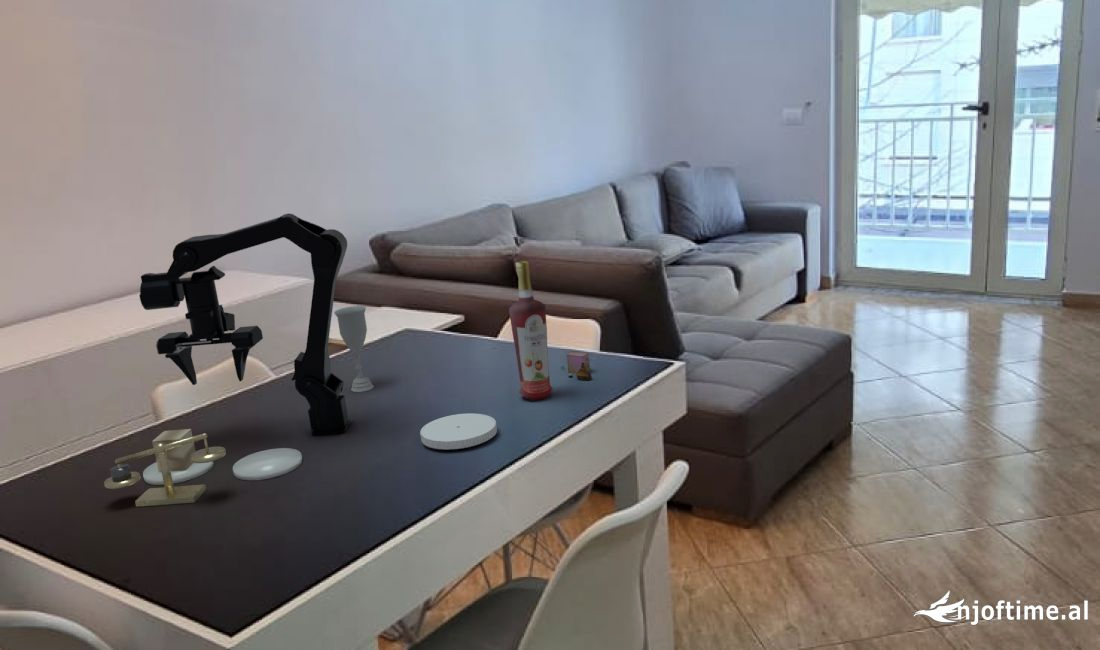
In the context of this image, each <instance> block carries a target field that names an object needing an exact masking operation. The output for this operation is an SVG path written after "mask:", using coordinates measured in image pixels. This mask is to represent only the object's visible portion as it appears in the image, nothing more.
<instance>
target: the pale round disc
mask: <svg viewBox="0 0 1100 650" xmlns="http://www.w3.org/2000/svg"><path fill="white" fill-rule="evenodd" d="M214 465H215V463H214V461H211V462H207V463H193V464H192V465H191V466H190V467H189V468H188V469H187V470H184V471H171V476H172V480H173V485H174V484H180V483H184V482H187V481H191V480H193V479H196V478H198V477H200V476H203V475H204V474H206V473H209V472H210V470H212V468H213V467H214ZM142 475H143V480H144V482H145V483H147V484H149V485H155V486H164V482H163V477H162V472H159V470H158V466H157V461H155V462H154V463H152V464H150V465H148V466H147V467H145V469H144V470H143V471H142Z"/></svg>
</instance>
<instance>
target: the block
mask: <svg viewBox="0 0 1100 650" xmlns="http://www.w3.org/2000/svg"><path fill="white" fill-rule="evenodd" d="M193 436H194V435H193V432H192V429H191V428H187V429H186V428H185V429H173V430H163V432H161V433H160V434H159V435H158V436H157V437H156V438H154V439H153V440H151V441H152V447H153V448H155V446H156V445H157V444H158V443H164V444H169V443H173V442H176V441H180V440H183V439H186V438H190V437H193ZM195 446H196V445H195V442H192V443H189V444H185V445H182V446H178V447H175V448H171V449H168V450H167V457H168V462H169V466H170V471H184V470H187V469H188V468H189V467H190V466H191V465H192V464H193V462H191V458H190V456H191V455H192V454H193V453H194V452H196V451H197V450H196V447H195ZM154 455H155V462H157V466H158V470H159V472H161V468H160V463H159V459H158V454H157V453H154Z"/></svg>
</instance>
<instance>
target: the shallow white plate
mask: <svg viewBox="0 0 1100 650" xmlns="http://www.w3.org/2000/svg"><path fill="white" fill-rule="evenodd" d="M302 463H303V456H302V453H301V452H300V450H297V449H295V448H288V447H281V448H271V449H270V448H269V449H266V450H264V449H263V450H261V451H257V452H254V453H250V454H248V455H246V456H244V457H242V458H240V459H239V460H237V461H236V462H235V463H234V464H233V466H232V472H233V476H234V477H235V478H236V479H239V480H241V481H250V482H251V481H261V480H262V481H263V480H264V481H265V480H269V479H273V478H276V477H280V476H281V477H282V476H283V475H286V474H289V473H290V472H292V471H294V470H295V469H297V468H299V466H301V465H302Z"/></svg>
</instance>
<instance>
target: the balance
mask: <svg viewBox="0 0 1100 650" xmlns="http://www.w3.org/2000/svg"><path fill="white" fill-rule="evenodd" d="M192 436H193V437H190V438H186V439H183V440H180V441H176V442H173V443H169V444H164V443H158V444H157V445H156V446H155V448H154V447H153V448H149V449H146V450H143V451H139V452H136V453H133V454H129V455H125V456H123V457H122V456H121V457H118V458H116V459H115V461H114V463H115V464H116V465H115V466H112V467H110V469H109V472H110V475H111V476H110V477H108V478H106V479H105V481H104V482H103V484H104V488H106V489H109V490H117V489H122V488H126V487H129V486H132V485H134V484H136V483H137V482H139V481H140V480H141V478H142V477H141V474H140V473H139V472H138V471H131V466H130V464H128V462H130V461H133V460H137V459H140V458H143V457H147V456H148V457H149V456H150V455H153V454H154V455H155V453H157V454H158V459H159V463H160V468H161V472H162V477H163V482H164V485H163V487H152V488H147V490H146V491H144V493H142V494H141V495H140V496H139V497H138V498H137V499H135V507H147V506H148V507H150V506H165V505H181V504H192V503H193V504H194V503H195V502H196V501H197V500H198V499H199V498H200V497H201V496H202V495H203V494H204V493H205V492H206V491H207V487H206V484H191V485H181V486H180V485H179V486H174V484H173V480H172V476H171V471H170V466H169V462H168V457H167V450H168V449H171V448H175V447H178V446H182V445H185V444H189V443H192V442H194V443H196V442H198V441H201V440H203V442H204V448H202V449H199V450H196V452H194V453H193V454H192V455H191V456H190V458H191V462H193V463H207V462H211V461H213V462H214V461H217V460H219V459H221V458H223V457H225V456H226V454H227V451H226V448H225V447H223V446H208V440H207V438H208V434H207V433H201V434H197V435H192ZM126 462H127V463H126Z"/></svg>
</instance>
